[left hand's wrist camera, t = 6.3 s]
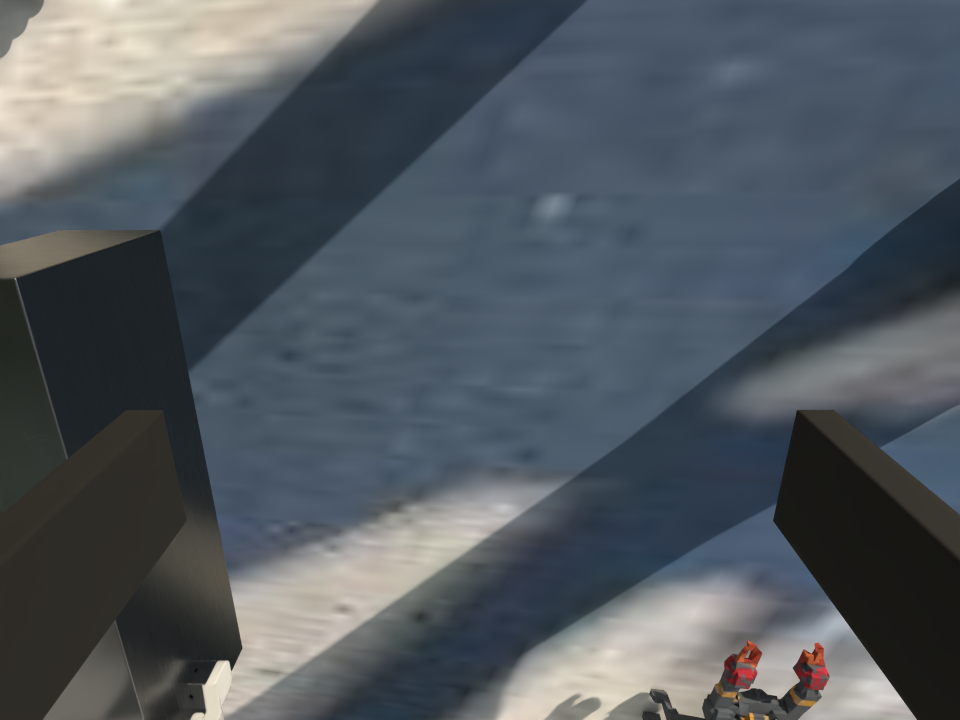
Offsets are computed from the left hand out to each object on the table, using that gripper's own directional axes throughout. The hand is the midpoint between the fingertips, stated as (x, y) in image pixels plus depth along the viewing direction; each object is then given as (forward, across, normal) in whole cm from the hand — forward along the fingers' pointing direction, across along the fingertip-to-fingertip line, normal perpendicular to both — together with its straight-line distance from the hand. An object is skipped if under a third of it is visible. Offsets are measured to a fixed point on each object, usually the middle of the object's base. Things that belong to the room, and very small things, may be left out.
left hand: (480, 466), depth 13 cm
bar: (+18, -18, -11) cm, 28 cm away
